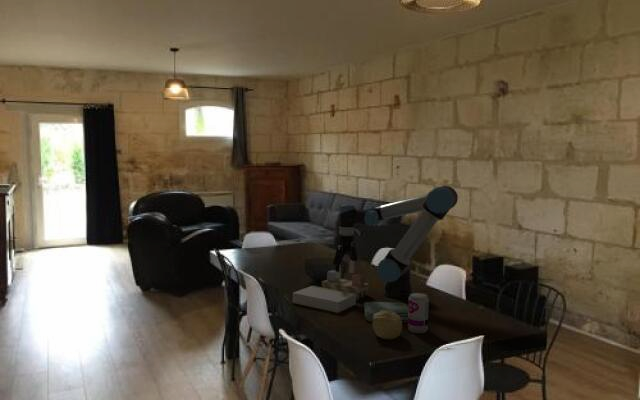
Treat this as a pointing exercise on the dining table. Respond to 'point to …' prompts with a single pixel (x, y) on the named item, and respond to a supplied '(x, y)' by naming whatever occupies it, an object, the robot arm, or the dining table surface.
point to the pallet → (347, 287)
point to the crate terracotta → (358, 280)
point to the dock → (324, 298)
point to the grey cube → (332, 276)
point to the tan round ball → (387, 324)
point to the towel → (395, 307)
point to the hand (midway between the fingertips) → (345, 275)
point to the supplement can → (418, 313)
